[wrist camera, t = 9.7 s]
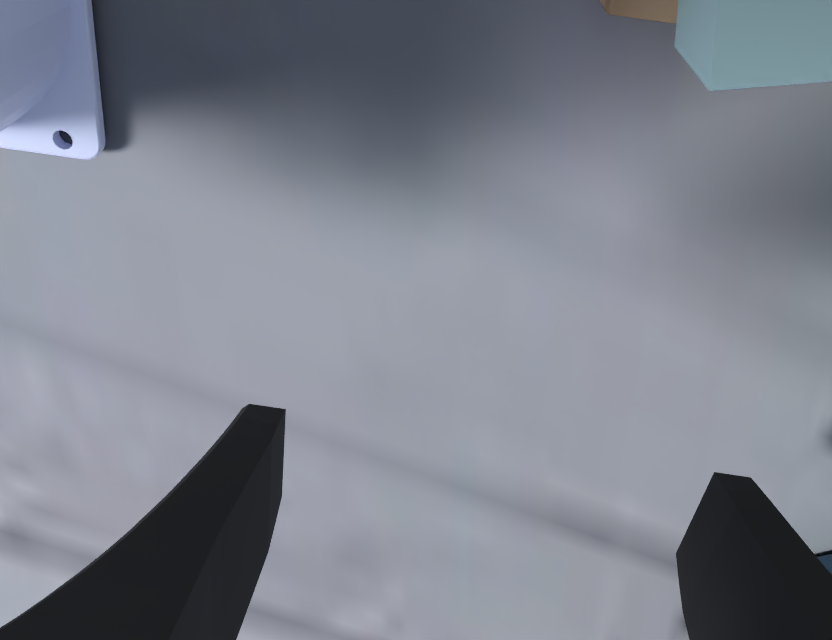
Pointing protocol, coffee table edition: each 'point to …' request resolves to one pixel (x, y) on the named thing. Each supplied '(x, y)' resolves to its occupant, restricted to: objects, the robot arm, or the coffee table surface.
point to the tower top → (755, 41)
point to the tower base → (643, 9)
